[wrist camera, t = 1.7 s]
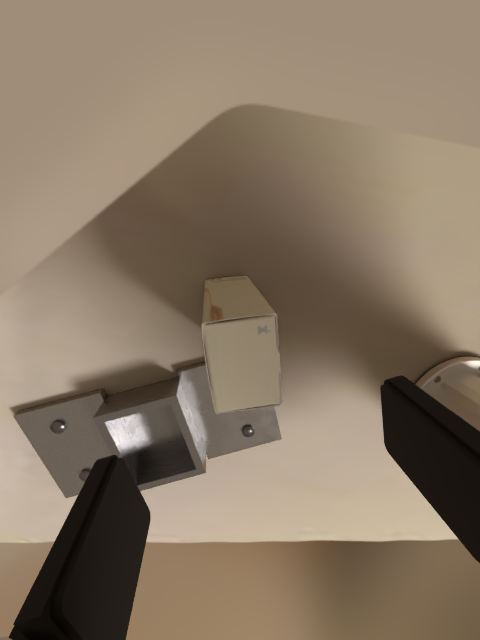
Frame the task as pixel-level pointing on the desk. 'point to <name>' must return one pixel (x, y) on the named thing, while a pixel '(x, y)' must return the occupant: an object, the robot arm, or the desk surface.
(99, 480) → the robot arm
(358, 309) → the desk surface
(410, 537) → the desk surface
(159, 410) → the hinge base
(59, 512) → the desk surface
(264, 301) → the skincare box
